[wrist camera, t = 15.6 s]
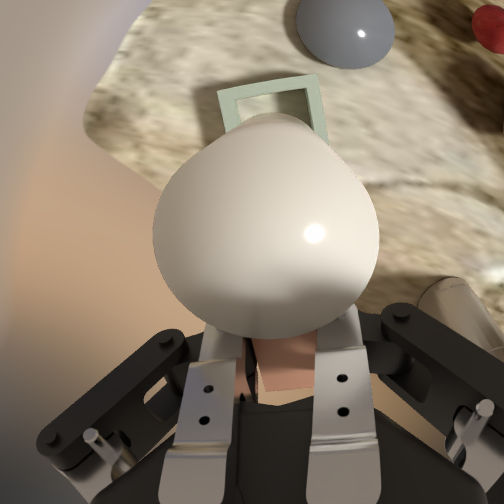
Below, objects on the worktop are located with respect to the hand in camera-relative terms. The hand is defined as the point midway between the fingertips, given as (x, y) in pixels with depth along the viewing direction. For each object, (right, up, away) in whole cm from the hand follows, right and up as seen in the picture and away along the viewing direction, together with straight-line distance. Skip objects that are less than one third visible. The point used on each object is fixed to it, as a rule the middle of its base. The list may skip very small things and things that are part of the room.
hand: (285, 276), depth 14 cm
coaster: (+8, +24, +12) cm, 28 cm away
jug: (0, +5, +4) cm, 6 cm away
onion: (+25, +26, +9) cm, 37 cm away
